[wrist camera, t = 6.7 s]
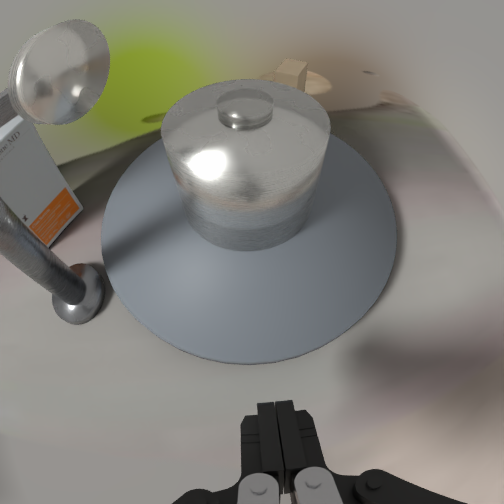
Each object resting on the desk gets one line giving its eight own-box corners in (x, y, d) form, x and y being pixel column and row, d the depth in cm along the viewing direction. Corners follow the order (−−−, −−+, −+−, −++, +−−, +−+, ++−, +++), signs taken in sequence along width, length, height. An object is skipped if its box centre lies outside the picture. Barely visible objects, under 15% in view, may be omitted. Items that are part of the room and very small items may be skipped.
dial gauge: (49, 308, 19) (-107, 168, 3) (105, 214, 24) (16, 39, 8) (117, 355, 18) (-113, 198, 2) (177, 240, 22) (97, 4, 6)
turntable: (63, 283, 20) (-1, 227, 12) (193, 111, 31) (183, 48, 23) (350, 411, 16) (419, 414, 8) (396, 165, 26) (425, 99, 19)
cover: (161, 228, 20) (122, 140, 13) (215, 144, 25) (206, 62, 18) (292, 270, 19) (315, 181, 11) (322, 169, 23) (342, 84, 16)
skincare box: (46, 253, 22) (-29, 171, 11) (31, 234, 23) (-34, 157, 12) (86, 208, 24) (29, 113, 14) (68, 193, 25) (16, 108, 15)
